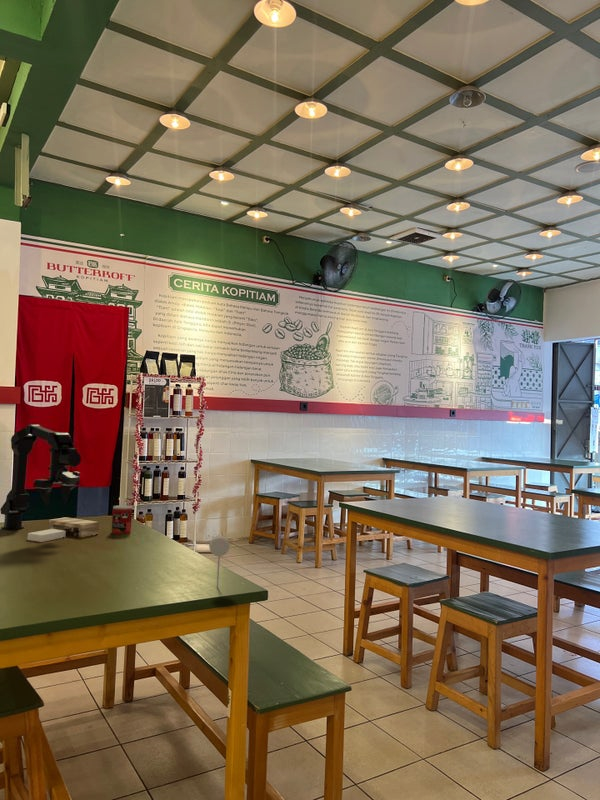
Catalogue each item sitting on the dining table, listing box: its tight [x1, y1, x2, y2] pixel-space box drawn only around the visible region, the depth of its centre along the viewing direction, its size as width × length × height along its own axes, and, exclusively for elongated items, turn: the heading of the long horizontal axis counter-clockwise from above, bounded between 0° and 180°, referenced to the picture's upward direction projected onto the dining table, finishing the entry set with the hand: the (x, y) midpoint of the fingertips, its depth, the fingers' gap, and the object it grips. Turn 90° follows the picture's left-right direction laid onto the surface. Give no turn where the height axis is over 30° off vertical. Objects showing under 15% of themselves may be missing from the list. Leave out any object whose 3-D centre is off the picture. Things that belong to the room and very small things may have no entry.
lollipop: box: [208, 535, 231, 588], centre depth 177 cm, size 6×6×15 cm
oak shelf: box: [48, 517, 100, 538], centre depth 246 cm, size 18×9×5 cm, turn 66°
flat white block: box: [27, 528, 67, 543], centre depth 233 cm, size 7×12×2 cm, turn 156°
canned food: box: [111, 504, 133, 535], centre depth 252 cm, size 8×8×11 cm
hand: (55, 504), depth 235 cm, fingers open, 9 cm apart
